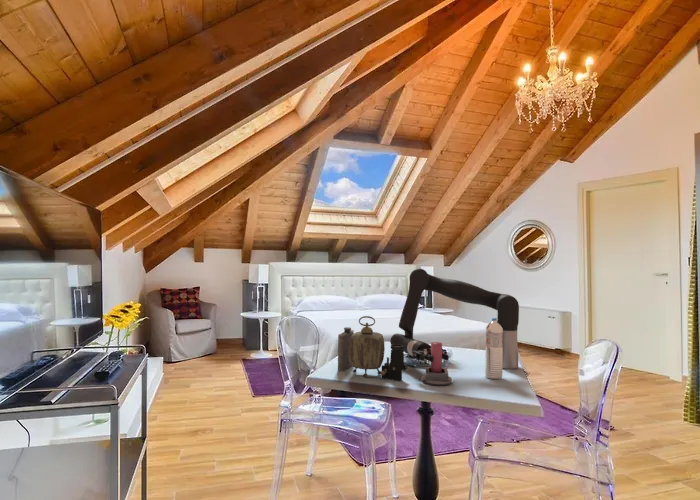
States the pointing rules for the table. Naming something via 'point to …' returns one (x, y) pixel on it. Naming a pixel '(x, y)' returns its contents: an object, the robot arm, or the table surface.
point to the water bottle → (494, 350)
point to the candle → (436, 357)
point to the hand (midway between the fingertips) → (440, 358)
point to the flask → (344, 349)
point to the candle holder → (437, 378)
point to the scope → (394, 364)
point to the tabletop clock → (366, 349)
